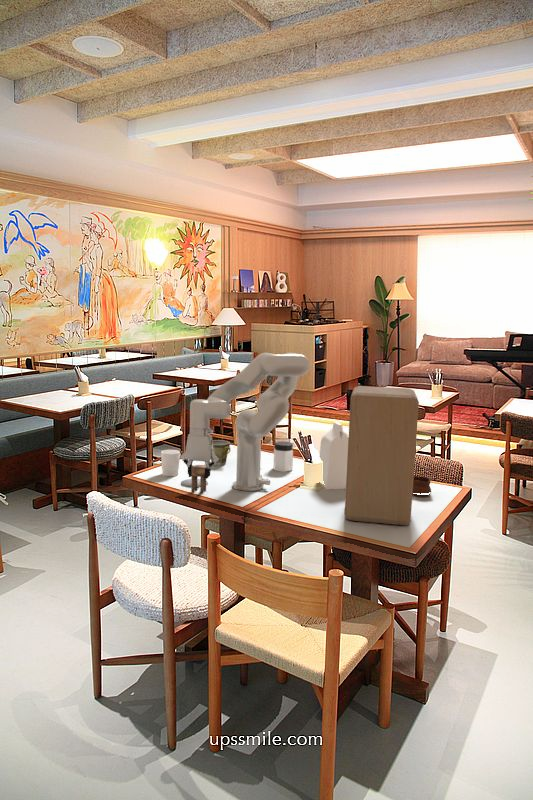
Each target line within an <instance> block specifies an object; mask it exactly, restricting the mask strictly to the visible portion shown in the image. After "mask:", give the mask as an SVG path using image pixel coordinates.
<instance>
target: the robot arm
mask: <svg viewBox="0 0 533 800" xmlns="http://www.w3.org/2000/svg"><path fill="white" fill-rule="evenodd" d="M310 368H311V363H310V360H309V359H308V357H307V356H305V354H304V355H303V354H300V353H294V352H286V353H284V354H274V353H270V352H262V353H259V354H258V355H257V356H256V357H254V359H252V361H250V362H249V364H248V365H246V366H245V368H243V369H242V371H240V372H239V373H238V374H237V375H236V376H234V377H233V378H231V379H229V380H227V381H226V382H224V383H223V384H221V385H220V386H218V387H217V388H216V390H214V391H213V392H212V393H211V394H210V395H209V396H208V398H207V399H202V398H201V399H199V398H197V399H192V400H191V401H190V404H189V434H188V435H187V438H186V439H187V440H186V445H185V446H186V447H185V451H184V452H183V453H182V454H180V460H182V461H183V463H184V464H185V465H186V467H187V475H188V477H189V478H192V475H191V467H192V466H194V465H193V462H194V461H196V462H204V464H205V466H206V469H205V478H206V480H207V479H208V478H210V477H211V468H212V466H214V465H213V464H215V463H216V462H217V461H218V460H219V458H218V457H217V456H216V455H215V454H214V453H213V437H212V434H213V433H214V430H213V429H211V427H210V422H211V421H210V419H212V420H213V419H214V420H226V419H227V418H229V416H230V415H231V413H232V407H231V405H230V403H229V402H231V401H232V400H234V399H235V398H237V397H239V396H242V395H246V394H249V393H251V392H253V391H254V390H255V389H256V388H257V387H258V386H259V385H260V384H261V383H262V382H263V381H264V380H265V379H266V378H267V377H270V376H271V377H277V378H276V380H275V381H274V382H273V383H272V384H271V385H270V386H269V387H268V388H266V390H265V391H264V392H263V393H262V394H261V395H259V396H258V398H257V401H256V406H257V409H258V411H256V410H253V409H249V408H248V409H243V410H242V411H240V412H239V413H238V415H237V416H236V421H235V429H236V437H237V439H236V440H237V441H236V443H237V445H236V446H237V449H236V480H235V481H234V482H232V484H231V485H232V487H233V489H235V490H238V491H241V492H242V491H243V492H254V491H260V490H262V489H263V488H264V485H266V486H270V485H271V480H269V478H263V475H262V474H261V457H262V456H261V453H262V452H261V450H262V439H261V438H264V437H266V436H267V435H269V433H270V432H271V431H272V430H274V428H276V427H277V426H278V424H280V422H281V421H282V420H283V419H284V418H285V417H286V416H287V414H288V413H289V409H290V402H289V400H288V399H289V398H290V396H291V395H293V393H294V391H296V388H297V385H298V379H299V377H302V376H305V375H306V374H307V373H308V372H309V371H310V370H311V369H310ZM212 458H213V459H214V460H213V461H212V462H211V459H212Z"/></svg>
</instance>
